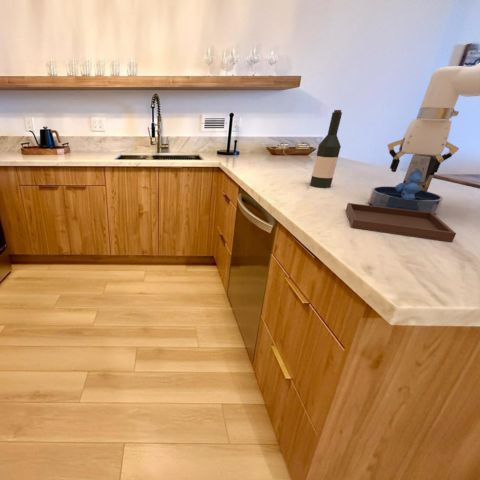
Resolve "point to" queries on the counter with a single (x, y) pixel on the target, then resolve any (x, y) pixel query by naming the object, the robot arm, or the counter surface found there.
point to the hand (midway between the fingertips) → (411, 172)
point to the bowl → (405, 200)
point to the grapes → (410, 185)
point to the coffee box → (421, 169)
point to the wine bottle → (327, 155)
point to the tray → (399, 222)
